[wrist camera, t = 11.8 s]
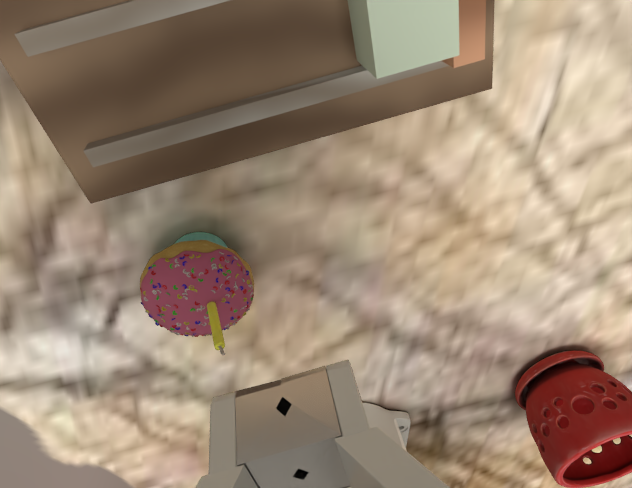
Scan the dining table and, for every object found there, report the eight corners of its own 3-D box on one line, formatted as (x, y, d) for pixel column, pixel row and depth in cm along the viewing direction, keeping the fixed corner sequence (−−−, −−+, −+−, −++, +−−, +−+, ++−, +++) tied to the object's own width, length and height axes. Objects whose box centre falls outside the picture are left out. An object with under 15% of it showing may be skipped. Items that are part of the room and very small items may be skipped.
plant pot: (507, 357, 54) (569, 448, 45) (606, 330, 55) (689, 415, 45) (498, 415, 62) (550, 504, 52) (586, 391, 63) (653, 474, 53)
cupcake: (214, 194, 34) (214, 297, 25) (269, 265, 39) (286, 374, 30) (124, 245, 35) (89, 362, 26) (188, 307, 40) (180, 425, 31)
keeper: (429, 40, 29) (459, 55, 25) (356, 60, 29) (376, 78, 25) (424, -49, 26) (457, -46, 22) (343, -26, 26) (363, -20, 22)
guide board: (481, 82, 33) (518, 103, 29) (95, 193, 32) (78, 230, 28) (485, -165, 25) (537, -184, 21) (-36, -22, 24) (-87, -12, 20)
